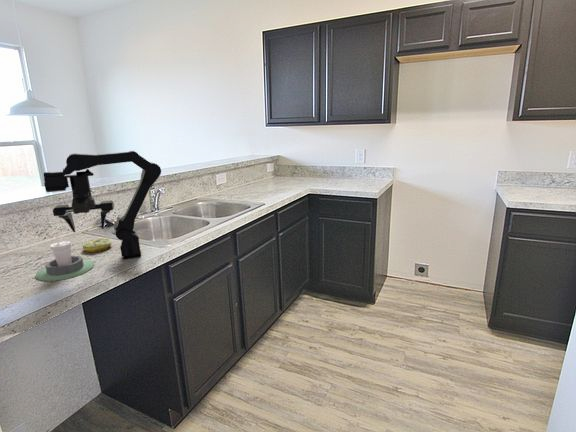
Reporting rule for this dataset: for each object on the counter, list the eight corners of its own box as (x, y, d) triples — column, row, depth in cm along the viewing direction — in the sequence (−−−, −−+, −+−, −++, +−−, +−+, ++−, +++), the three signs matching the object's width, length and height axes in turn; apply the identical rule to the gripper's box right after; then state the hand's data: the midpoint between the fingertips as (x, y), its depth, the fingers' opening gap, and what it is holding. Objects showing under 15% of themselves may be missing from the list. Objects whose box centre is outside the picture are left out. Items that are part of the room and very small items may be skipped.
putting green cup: (97, 257, 134) (95, 249, 133) (90, 275, 118) (88, 266, 117) (43, 265, 127) (41, 257, 126) (28, 285, 111) (26, 275, 110)
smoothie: (52, 270, 121) (43, 233, 118) (70, 264, 127) (63, 228, 123) (60, 274, 118) (52, 236, 114) (79, 267, 123) (72, 231, 120)
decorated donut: (117, 246, 147) (116, 237, 146) (96, 254, 137) (94, 246, 136) (100, 243, 151) (98, 235, 150) (78, 251, 141) (76, 243, 140)
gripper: (44, 195, 110) (54, 240, 114) (107, 190, 117) (115, 232, 121) (52, 190, 120) (61, 231, 124) (110, 185, 127) (117, 225, 131)
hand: (88, 230), depth 125 cm, fingers open, 9 cm apart
